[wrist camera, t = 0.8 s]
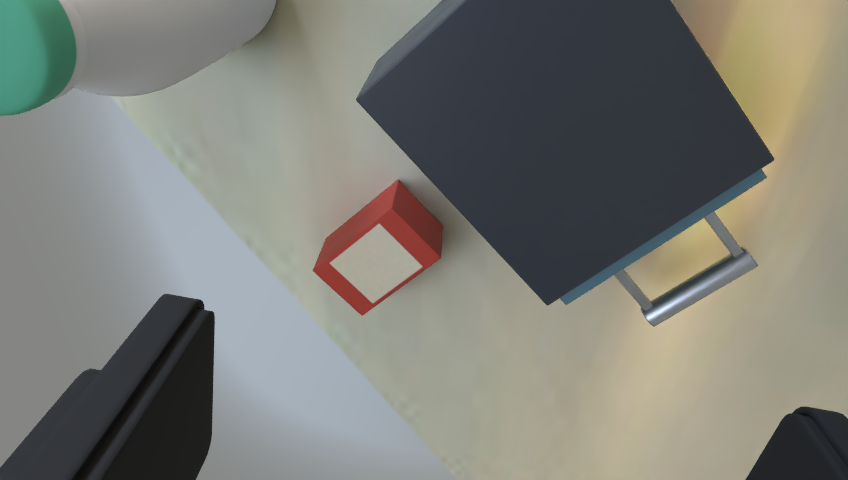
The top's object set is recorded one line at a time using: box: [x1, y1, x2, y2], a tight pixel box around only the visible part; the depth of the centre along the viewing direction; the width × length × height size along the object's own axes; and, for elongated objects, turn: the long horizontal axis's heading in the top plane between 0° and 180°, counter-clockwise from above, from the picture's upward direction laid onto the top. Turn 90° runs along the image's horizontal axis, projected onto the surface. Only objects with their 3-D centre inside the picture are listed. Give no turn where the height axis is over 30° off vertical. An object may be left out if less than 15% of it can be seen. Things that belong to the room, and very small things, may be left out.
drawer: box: [560, 169, 767, 327], centre depth 35 cm, size 21×12×7 cm, turn 41°
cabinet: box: [356, 0, 774, 305], centre depth 33 cm, size 16×14×9 cm
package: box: [313, 180, 443, 315], centre depth 40 cm, size 5×7×4 cm, turn 131°
